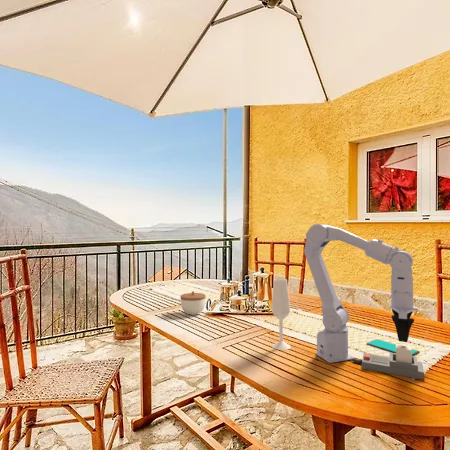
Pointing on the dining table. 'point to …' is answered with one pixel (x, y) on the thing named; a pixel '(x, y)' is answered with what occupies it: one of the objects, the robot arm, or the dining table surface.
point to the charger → (403, 353)
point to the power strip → (392, 365)
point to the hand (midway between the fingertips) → (402, 337)
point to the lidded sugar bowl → (193, 302)
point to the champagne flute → (280, 308)
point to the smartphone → (387, 346)
